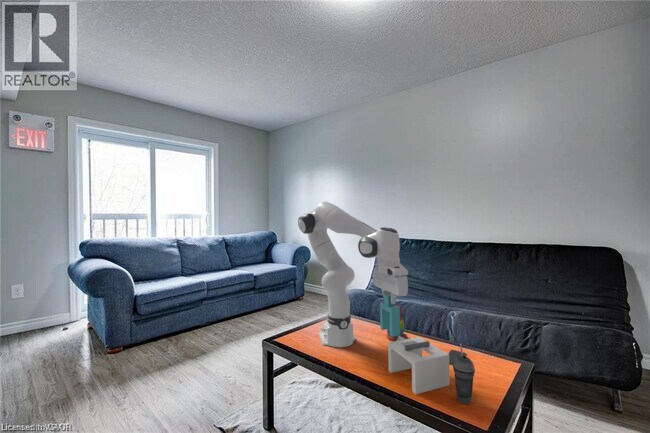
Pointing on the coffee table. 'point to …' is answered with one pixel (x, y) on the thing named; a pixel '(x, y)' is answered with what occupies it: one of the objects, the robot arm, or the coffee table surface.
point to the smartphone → (454, 355)
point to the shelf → (420, 363)
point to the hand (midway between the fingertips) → (389, 301)
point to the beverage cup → (463, 377)
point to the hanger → (389, 316)
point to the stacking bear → (400, 330)
